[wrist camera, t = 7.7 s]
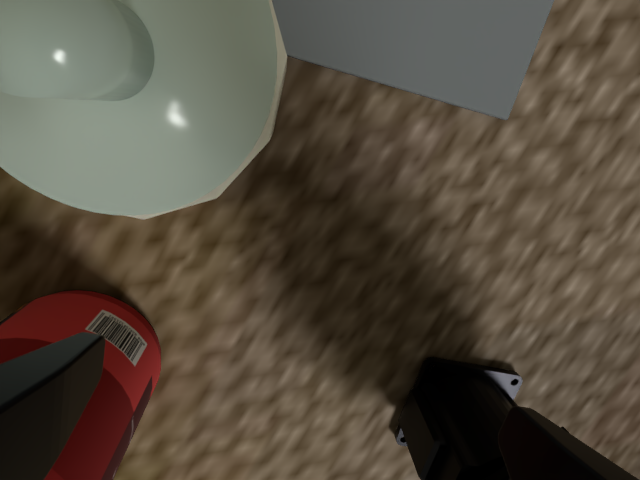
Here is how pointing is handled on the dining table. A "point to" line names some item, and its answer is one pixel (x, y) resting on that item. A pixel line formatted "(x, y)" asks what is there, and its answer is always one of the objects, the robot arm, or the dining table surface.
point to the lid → (132, 97)
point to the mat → (422, 44)
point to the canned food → (116, 380)
